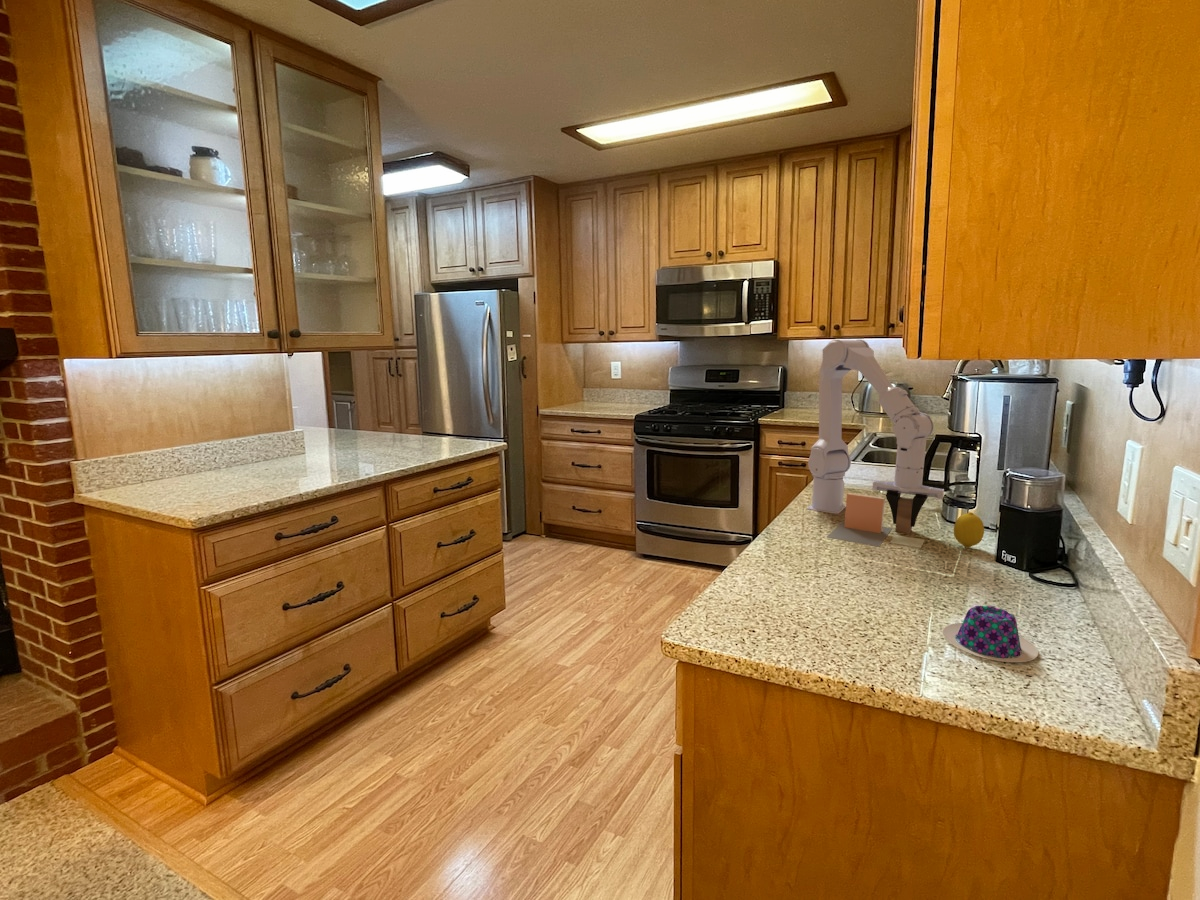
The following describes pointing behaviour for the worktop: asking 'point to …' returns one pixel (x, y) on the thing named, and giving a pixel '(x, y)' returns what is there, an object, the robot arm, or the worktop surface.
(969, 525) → the lemon
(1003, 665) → the worktop surface
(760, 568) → the worktop surface
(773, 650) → the worktop surface
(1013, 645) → the purple patterned hat
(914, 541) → the board
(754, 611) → the worktop surface
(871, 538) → the mat
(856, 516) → the tile
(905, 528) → the block
